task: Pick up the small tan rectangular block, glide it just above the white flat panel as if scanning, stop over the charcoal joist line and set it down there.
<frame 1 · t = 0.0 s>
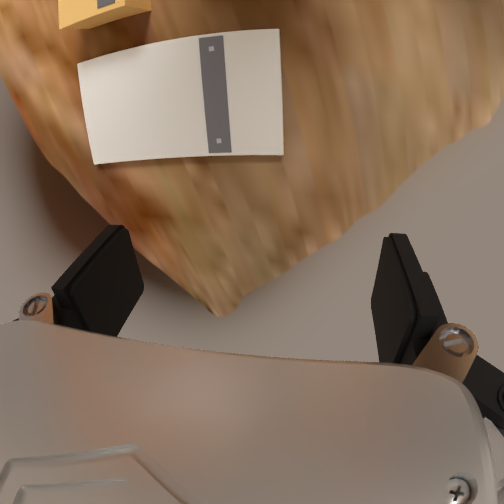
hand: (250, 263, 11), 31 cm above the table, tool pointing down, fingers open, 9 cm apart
tan rectangular block: (118, 0, 30), on the table
white flat panel: (173, 98, 38), on the table
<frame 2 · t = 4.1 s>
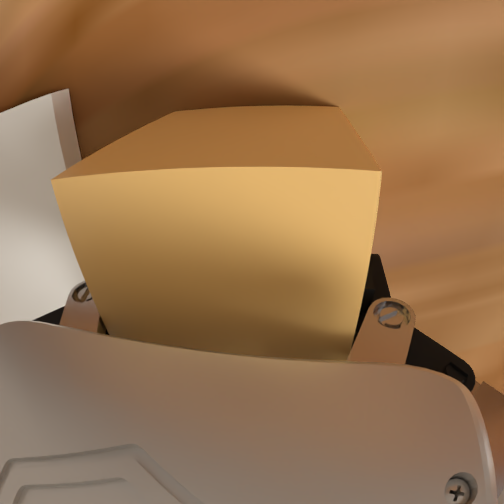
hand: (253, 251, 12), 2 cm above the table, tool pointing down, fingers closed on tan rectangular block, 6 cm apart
tan rectangular block: (260, 228, 13), on the table, touching gripper
white flat panel: (46, 311, 20), on the table
when the fingers open (3 cm above the table, at t = 14.2 s): tan rectangular block stays where it is, resting on white flat panel.
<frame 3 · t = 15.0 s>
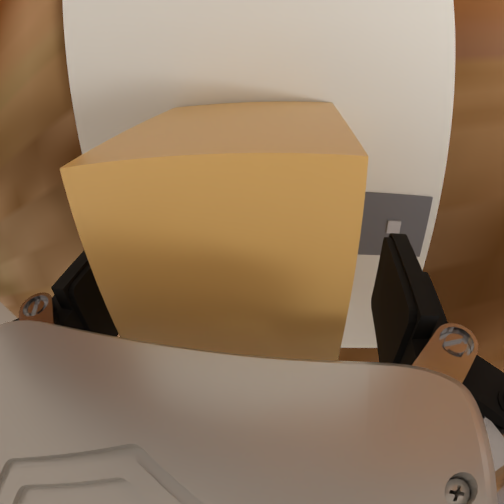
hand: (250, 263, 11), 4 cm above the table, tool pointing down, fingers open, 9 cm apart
tan rectangular block: (256, 220, 14), point 1 cm above the table, touching white flat panel
white flat panel: (251, 76, 12), on the table
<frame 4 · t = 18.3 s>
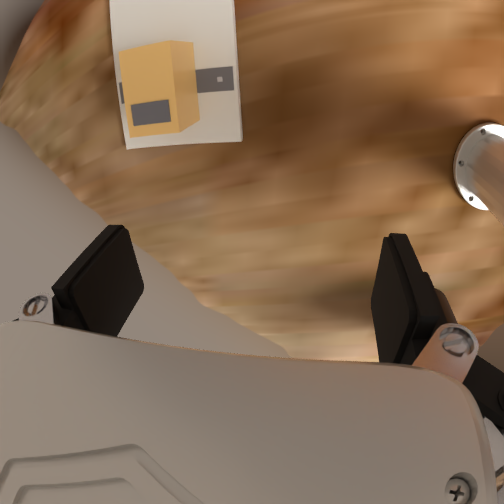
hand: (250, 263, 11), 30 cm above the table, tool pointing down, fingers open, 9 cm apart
tan rectangular block: (173, 83, 35), point 1 cm above the table, touching white flat panel
white flat panel: (172, 39, 32), on the table
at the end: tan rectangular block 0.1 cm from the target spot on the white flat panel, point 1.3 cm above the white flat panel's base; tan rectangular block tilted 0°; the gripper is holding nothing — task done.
